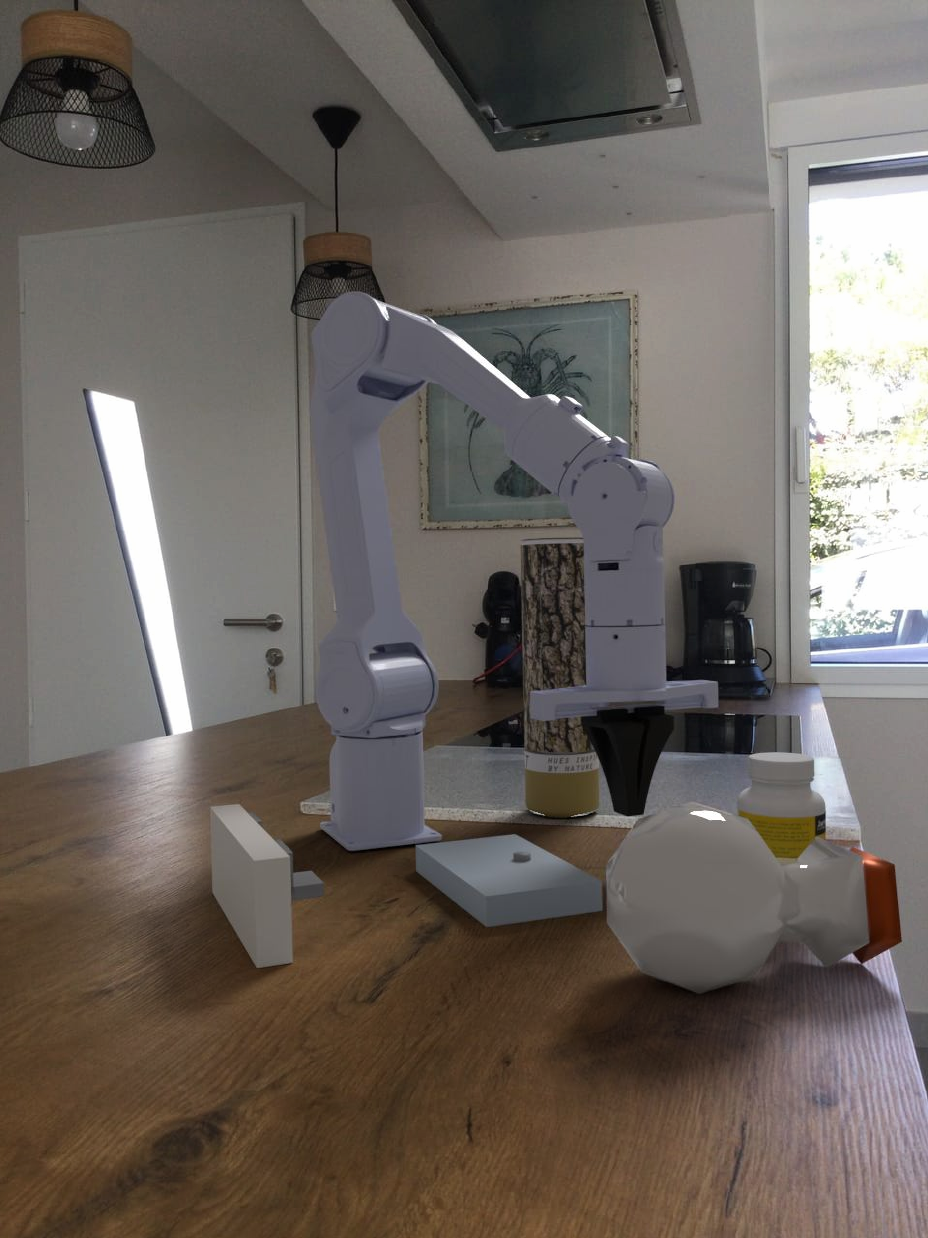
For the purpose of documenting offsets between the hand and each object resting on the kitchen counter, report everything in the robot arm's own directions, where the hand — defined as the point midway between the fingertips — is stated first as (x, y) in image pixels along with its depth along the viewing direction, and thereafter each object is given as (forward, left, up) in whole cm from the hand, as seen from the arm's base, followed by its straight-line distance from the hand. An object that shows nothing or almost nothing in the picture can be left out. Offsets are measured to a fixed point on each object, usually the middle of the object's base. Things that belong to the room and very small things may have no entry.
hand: (628, 813), depth 76 cm
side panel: (0, -26, -4) cm, 27 cm away
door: (0, -10, -5) cm, 11 cm away
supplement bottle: (+12, +4, -5) cm, 13 cm away
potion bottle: (+20, -5, -5) cm, 21 cm away
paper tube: (-20, +5, -5) cm, 21 cm away
